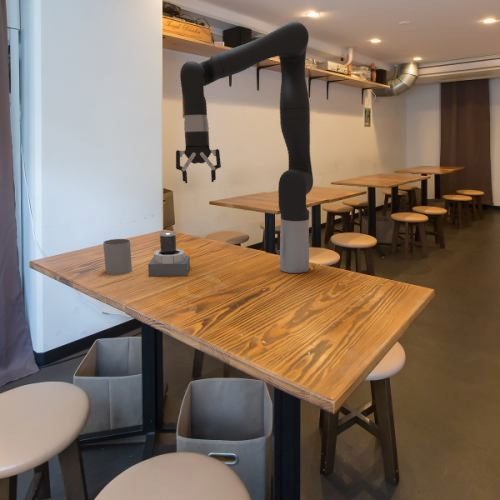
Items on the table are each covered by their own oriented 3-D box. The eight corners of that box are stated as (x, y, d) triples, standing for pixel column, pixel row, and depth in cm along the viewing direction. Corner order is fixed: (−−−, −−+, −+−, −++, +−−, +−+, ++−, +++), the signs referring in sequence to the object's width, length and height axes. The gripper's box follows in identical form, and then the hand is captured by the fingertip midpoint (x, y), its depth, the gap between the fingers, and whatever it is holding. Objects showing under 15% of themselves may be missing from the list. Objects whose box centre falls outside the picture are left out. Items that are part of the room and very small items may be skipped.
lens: (168, 256, 145) (167, 230, 143) (179, 258, 142) (178, 232, 140) (157, 260, 141) (156, 233, 139) (169, 262, 138) (168, 234, 136)
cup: (124, 275, 138) (122, 245, 135) (100, 274, 139) (98, 244, 137) (136, 268, 146) (134, 239, 143) (113, 266, 147) (111, 238, 145)
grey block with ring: (189, 266, 147) (189, 248, 146) (186, 275, 138) (186, 256, 136) (154, 267, 147) (153, 248, 145) (148, 276, 137) (147, 256, 136)
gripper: (218, 130, 140) (220, 180, 144) (174, 131, 139) (177, 182, 143) (219, 129, 133) (221, 182, 137) (173, 130, 132) (176, 184, 135)
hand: (199, 182), depth 140 cm, fingers open, 8 cm apart
